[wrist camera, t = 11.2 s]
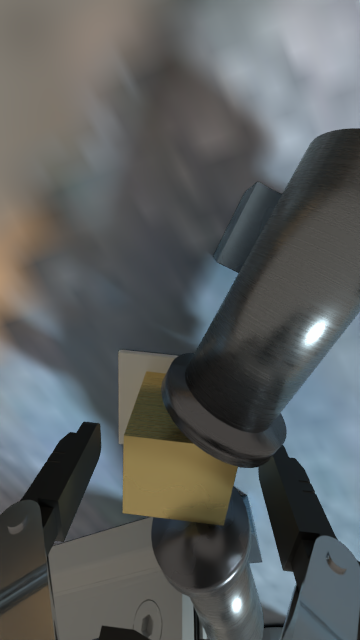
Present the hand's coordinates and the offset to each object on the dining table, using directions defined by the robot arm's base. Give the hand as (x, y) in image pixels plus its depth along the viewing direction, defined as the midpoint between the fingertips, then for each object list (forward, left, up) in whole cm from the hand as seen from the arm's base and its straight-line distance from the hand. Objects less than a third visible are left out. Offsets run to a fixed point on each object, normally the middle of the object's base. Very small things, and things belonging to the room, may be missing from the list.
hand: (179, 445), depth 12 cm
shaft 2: (-8, -3, -3) cm, 9 cm away
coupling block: (0, 0, -3) cm, 3 cm away
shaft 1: (+8, -3, -3) cm, 9 cm away
